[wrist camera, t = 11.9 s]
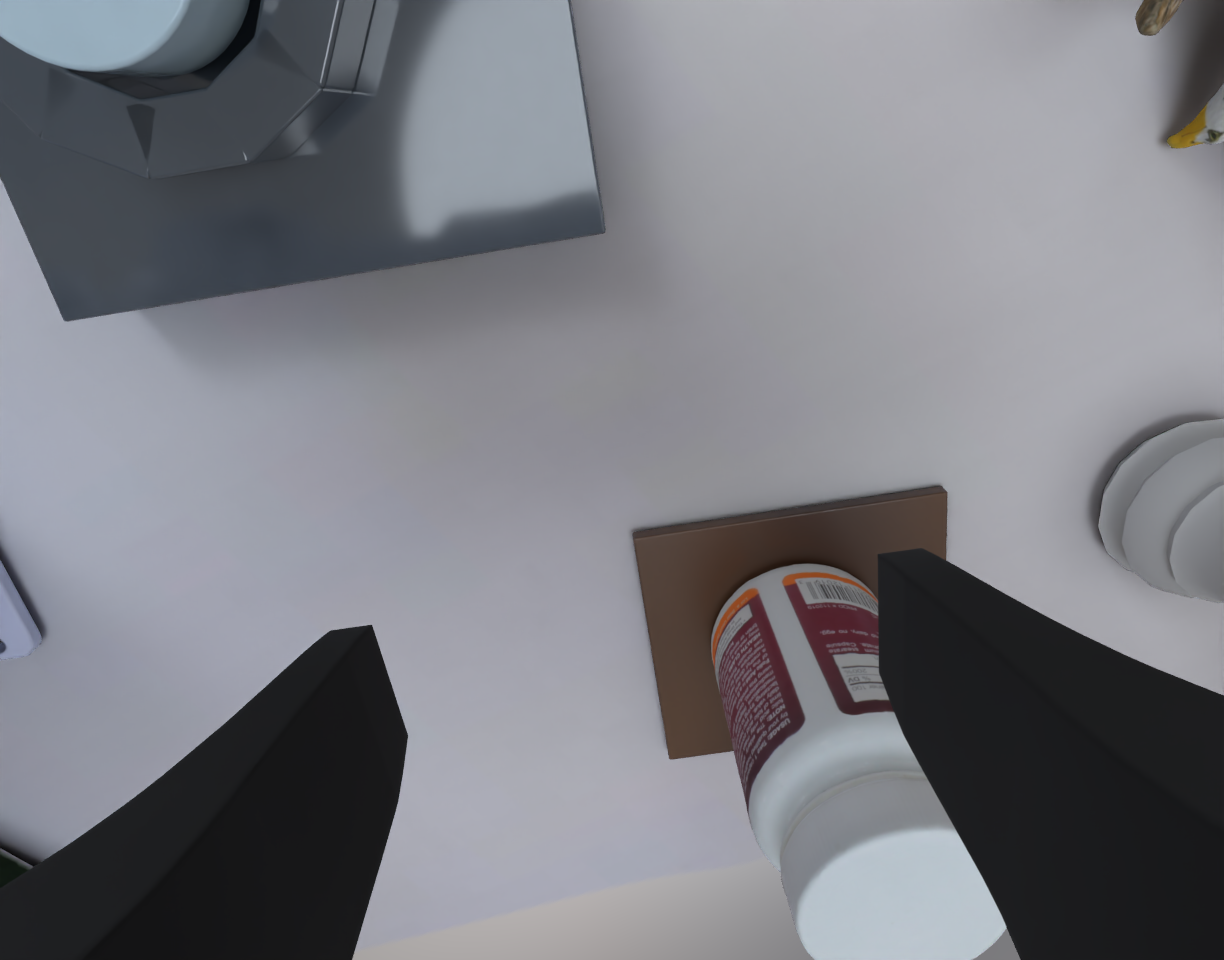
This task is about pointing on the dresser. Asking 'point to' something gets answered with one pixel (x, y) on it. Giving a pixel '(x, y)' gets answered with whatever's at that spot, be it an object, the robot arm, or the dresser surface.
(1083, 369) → the dresser surface
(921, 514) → the coaster
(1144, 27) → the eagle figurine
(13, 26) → the light blue short cylinder
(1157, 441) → the rook chess piece
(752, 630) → the pill bottle
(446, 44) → the grey base plate
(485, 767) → the dresser surface
